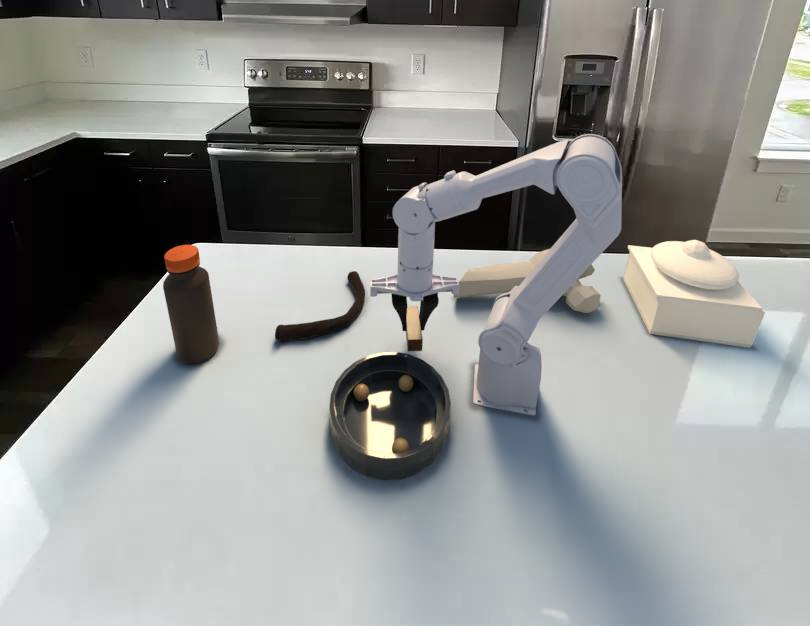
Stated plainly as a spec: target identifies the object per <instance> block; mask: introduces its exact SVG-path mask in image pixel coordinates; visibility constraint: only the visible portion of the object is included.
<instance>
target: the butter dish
mask: <svg viewBox="0 0 810 626" xmlns="http://www.w3.org/2000/svg"><path fill="white" fill-rule="evenodd" d="M627 250H628V251H629V252H628V257H627V261H626V264H625V265H626V266H625V270H624V273H623V278H622V280H623V282H624V285H625V286H626V288H627V290H628V292H629V294H630V296H631V298H632V301H633V302H634V305H635V307H636V309H637V311H638V312H639V314H640V316H641V318H642V320H643V323H644V324H645V327H646V328H647V331H648V333H649V335H656V336H663V337H669V338H676V339H683V340H691V341H699V342H705V343H712V344H720V345H727V346H735V347H740V348H741V347H742V348H747V349H751V348H752V347H753V345H754V342H755V340H756V337H757V334H758V332H759V330H760V328H761V327H760V326H761V325H762V322H763V319H764V317H765V314H766V311H765V310H764V309H763V307H762V306H761V305H760V304H759V303H758V302H757V300H756V299H755V298H754V297H753V296H752V295H751V294H750V293H749V292H748V291H747V289H746V288H745V287H744V286H743V285H742V284H741V282H739V280H740V274H739V271H738V269H737V268H736V267H735V265H734V264H733V263H732V262H731V261H730V260H729V259H727V258H726V257H724V256H723V255H722V254H720V253H718V252H717V251H714V250H713V249H710V248H709V247H708V245H707V244H706V243H705V242H704V241H700V240H697V239H690V240H687V241H678V240H670V241H669V240H668V241H663V242H659V243H657V244H655V245H654V246H653V247H648V246H640V245H630V244H628V245H627Z"/></svg>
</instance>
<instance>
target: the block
mask: <svg viewBox="0 0 810 626" xmlns="http://www.w3.org/2000/svg"><path fill="white" fill-rule="evenodd" d="M419 313H420V310H419V307H418V305H414V306H407V317H406V320H407V331H405V338H406V339H405V340H406V348H407V352H422V351H423V343H424V342H423V341H424V339H423V332H422V331H421V326H420V320H419Z"/></svg>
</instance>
